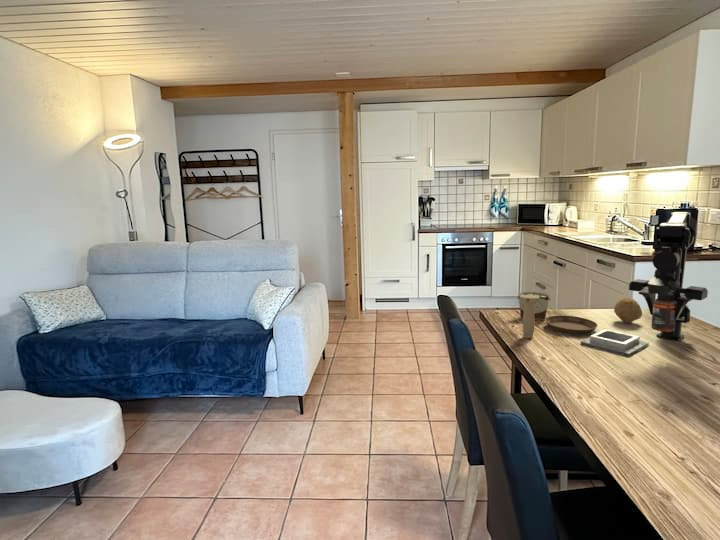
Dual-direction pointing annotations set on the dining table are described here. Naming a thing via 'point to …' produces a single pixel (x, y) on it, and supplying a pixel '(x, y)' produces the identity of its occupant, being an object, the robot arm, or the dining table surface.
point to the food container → (536, 305)
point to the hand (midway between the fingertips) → (663, 316)
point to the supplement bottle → (664, 313)
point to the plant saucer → (571, 325)
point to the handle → (528, 314)
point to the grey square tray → (615, 342)
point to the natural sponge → (628, 310)
